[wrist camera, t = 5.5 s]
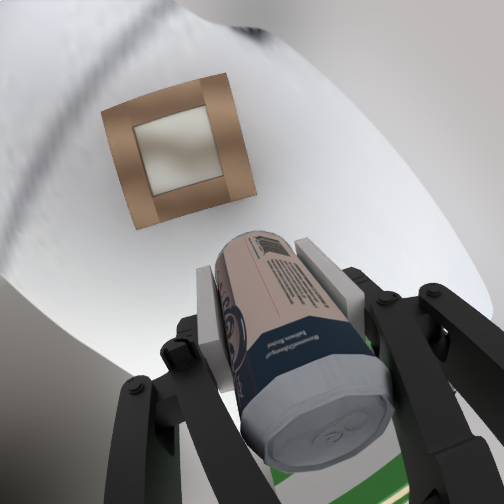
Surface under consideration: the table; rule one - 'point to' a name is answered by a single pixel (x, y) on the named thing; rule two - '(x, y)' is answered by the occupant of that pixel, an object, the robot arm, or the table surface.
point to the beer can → (296, 360)
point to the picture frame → (179, 150)
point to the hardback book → (351, 477)
